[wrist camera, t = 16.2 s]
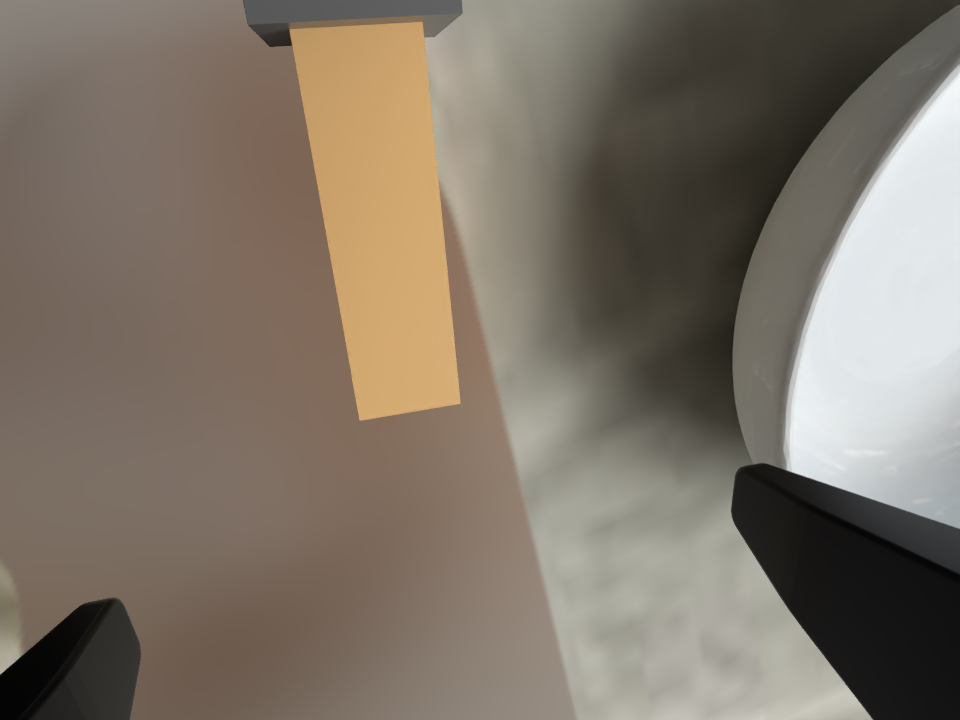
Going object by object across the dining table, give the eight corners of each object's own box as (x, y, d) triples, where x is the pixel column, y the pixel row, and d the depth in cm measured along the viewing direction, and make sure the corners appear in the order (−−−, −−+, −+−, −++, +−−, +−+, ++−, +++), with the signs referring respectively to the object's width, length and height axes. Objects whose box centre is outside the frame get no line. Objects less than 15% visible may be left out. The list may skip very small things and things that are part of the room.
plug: (417, -141, 15) (444, -229, 11) (464, 359, 21) (492, 414, 17) (234, -139, 14) (195, -233, 10) (334, 380, 20) (333, 442, 16)
